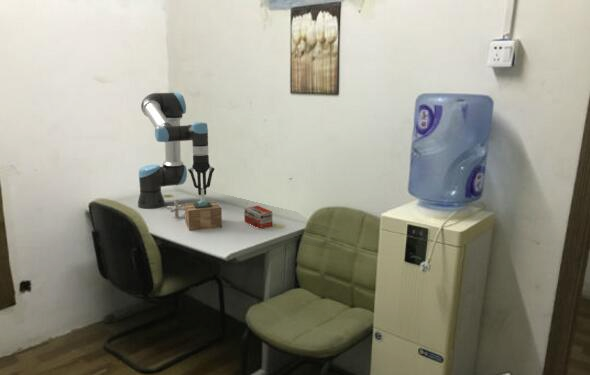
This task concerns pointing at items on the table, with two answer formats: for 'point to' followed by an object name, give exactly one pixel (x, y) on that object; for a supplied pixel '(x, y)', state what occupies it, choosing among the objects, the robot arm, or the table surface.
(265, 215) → the medicine box
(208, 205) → the collar
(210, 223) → the socket block
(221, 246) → the table surface
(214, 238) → the table surface
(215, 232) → the table surface
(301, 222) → the table surface
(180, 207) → the pipe connector
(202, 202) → the peg
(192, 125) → the robot arm
